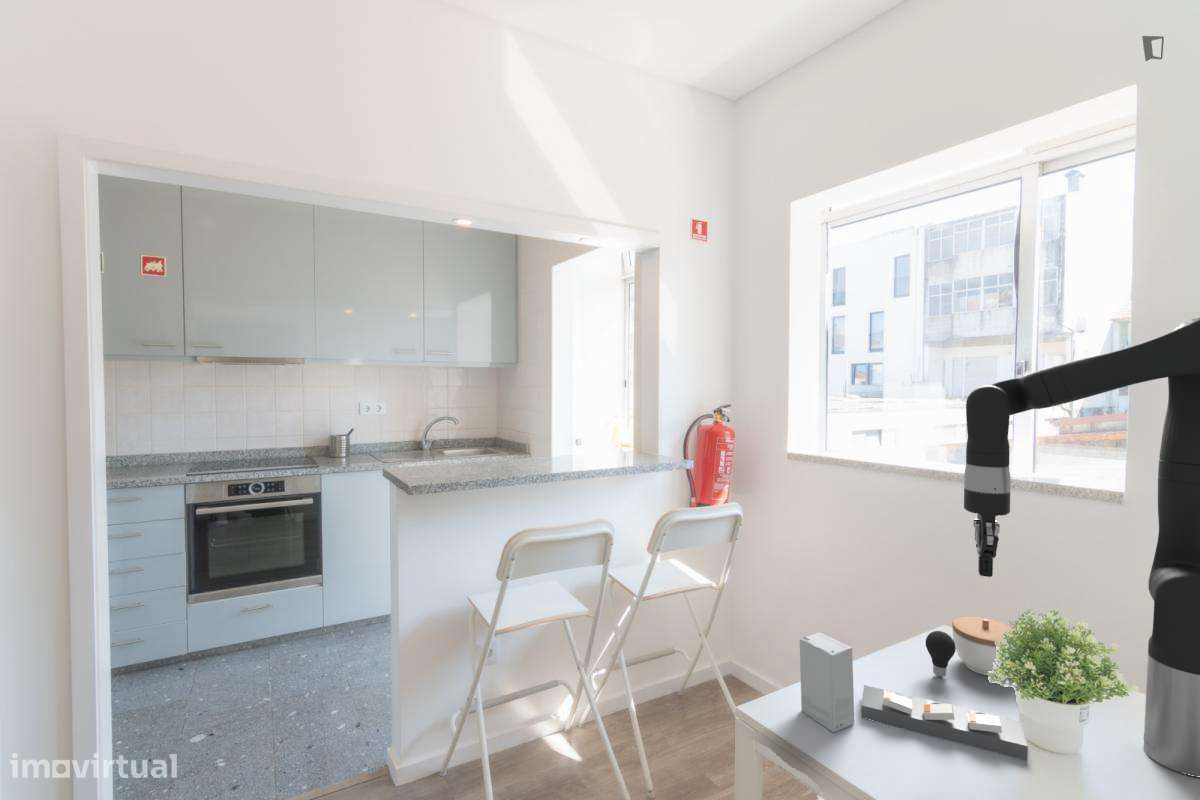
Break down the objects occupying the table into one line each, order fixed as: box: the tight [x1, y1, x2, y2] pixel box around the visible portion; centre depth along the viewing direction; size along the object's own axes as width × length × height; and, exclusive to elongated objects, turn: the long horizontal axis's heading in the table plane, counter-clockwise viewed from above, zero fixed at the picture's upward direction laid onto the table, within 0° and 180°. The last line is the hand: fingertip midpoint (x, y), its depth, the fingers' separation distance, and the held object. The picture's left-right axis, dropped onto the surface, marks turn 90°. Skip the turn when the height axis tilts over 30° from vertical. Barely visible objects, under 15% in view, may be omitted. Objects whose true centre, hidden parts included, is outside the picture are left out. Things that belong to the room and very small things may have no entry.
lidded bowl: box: [951, 616, 1011, 677], centre depth 129 cm, size 13×13×11 cm
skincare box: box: [799, 632, 855, 733], centre depth 111 cm, size 8×6×15 cm
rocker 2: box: [967, 713, 1002, 733], centre depth 103 cm, size 5×3×1 cm
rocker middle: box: [923, 703, 955, 720], centre depth 107 cm, size 5×3×1 cm
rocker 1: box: [883, 689, 912, 714], centre depth 110 cm, size 5×3×1 cm
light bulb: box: [925, 630, 956, 679], centre depth 125 cm, size 6×6×10 cm
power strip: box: [860, 684, 1029, 761], centre depth 108 cm, size 26×8×3 cm, turn 62°
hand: (985, 575), depth 114 cm, fingers closed
